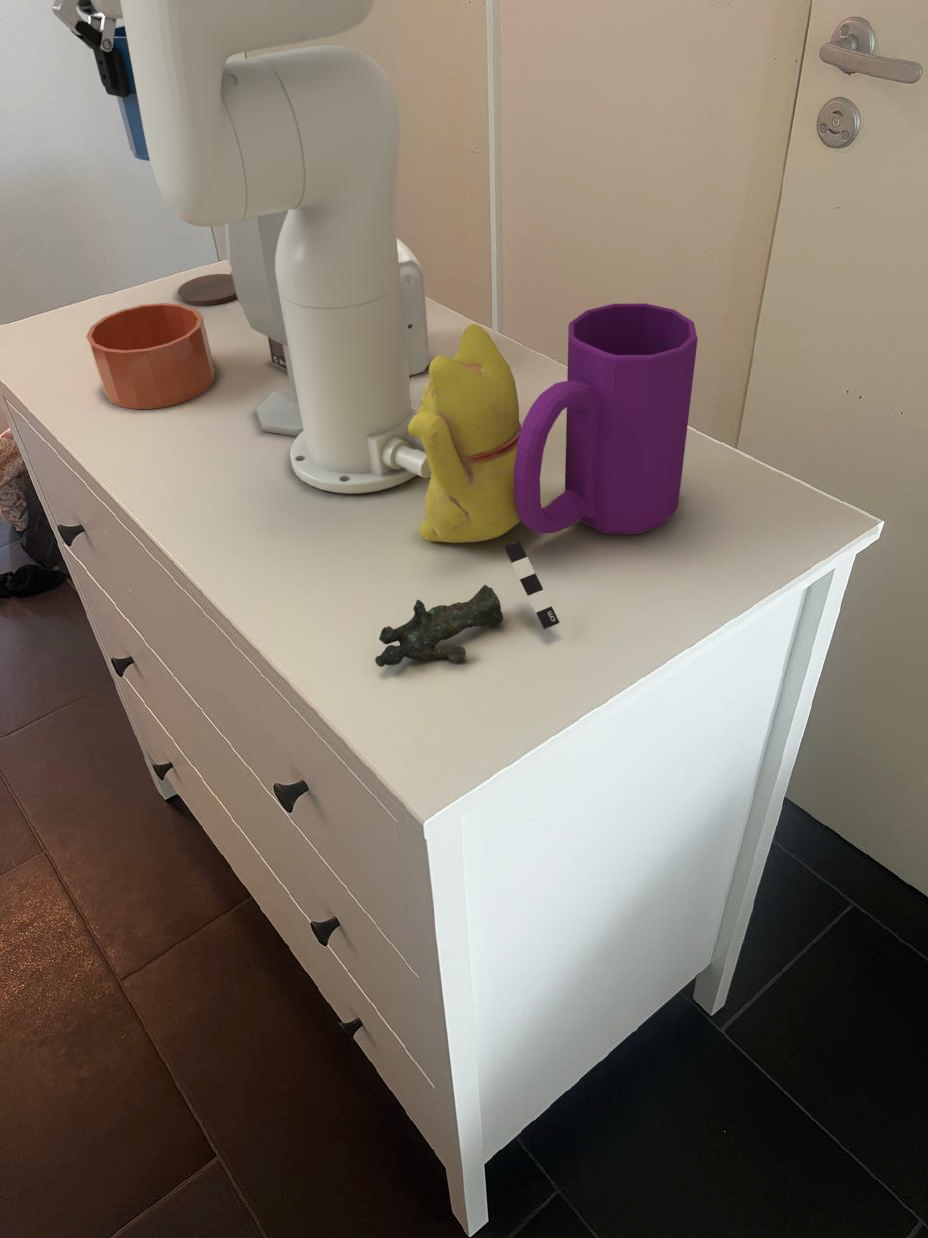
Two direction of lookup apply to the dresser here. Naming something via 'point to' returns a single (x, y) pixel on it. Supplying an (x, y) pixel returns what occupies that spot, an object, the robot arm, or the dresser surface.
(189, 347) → the orange bowl
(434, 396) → the figurine
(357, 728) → the dresser surface
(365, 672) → the dresser surface
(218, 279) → the coaster
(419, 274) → the photo printer
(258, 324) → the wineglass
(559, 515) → the mug
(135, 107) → the blue cup
